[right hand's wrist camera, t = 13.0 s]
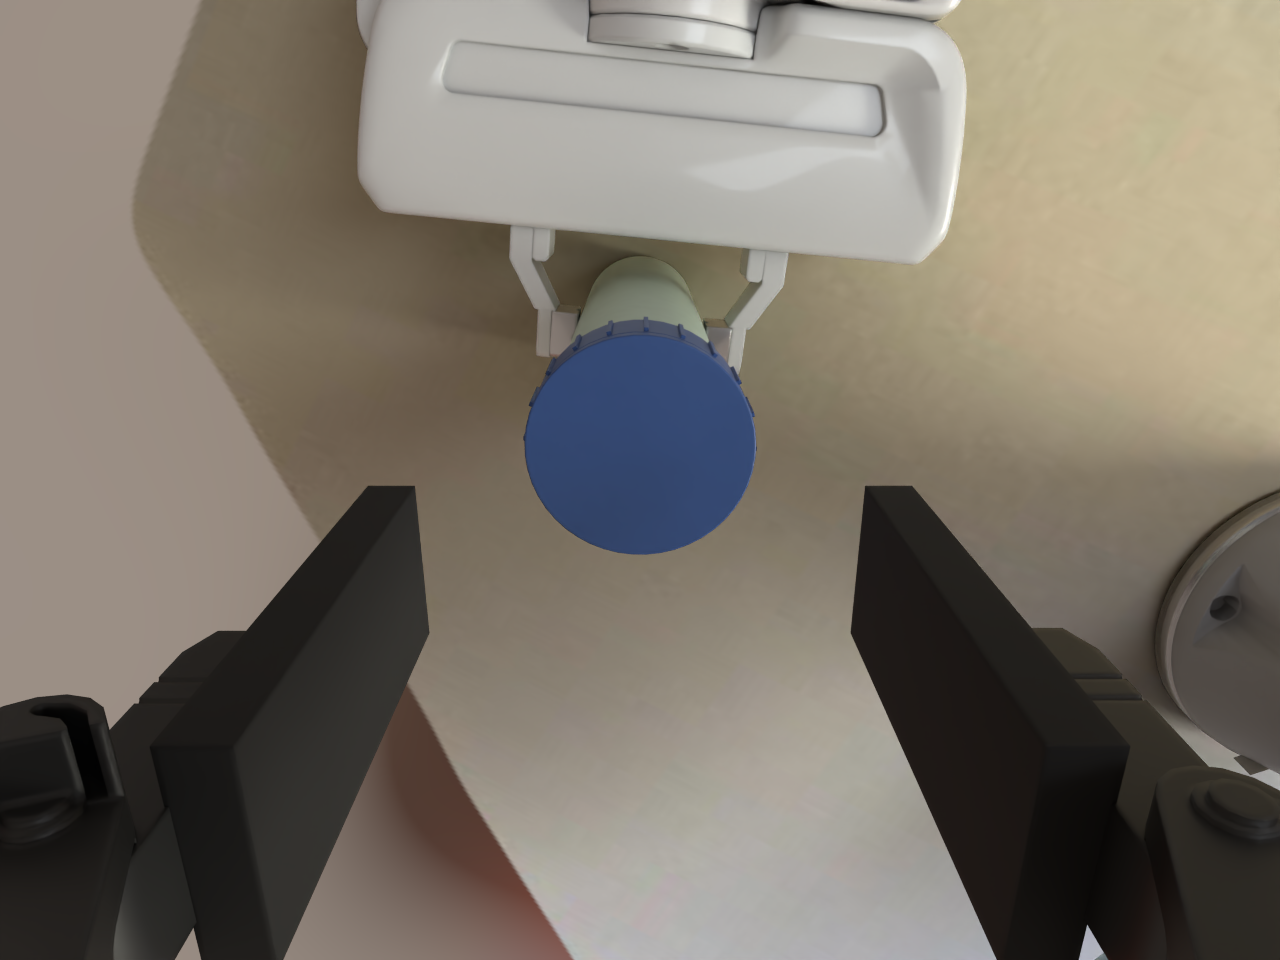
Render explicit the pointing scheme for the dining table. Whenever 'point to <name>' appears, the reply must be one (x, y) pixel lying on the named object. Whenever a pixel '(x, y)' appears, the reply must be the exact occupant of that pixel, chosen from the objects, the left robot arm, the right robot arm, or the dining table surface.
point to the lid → (640, 437)
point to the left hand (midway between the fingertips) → (638, 363)
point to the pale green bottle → (640, 297)
